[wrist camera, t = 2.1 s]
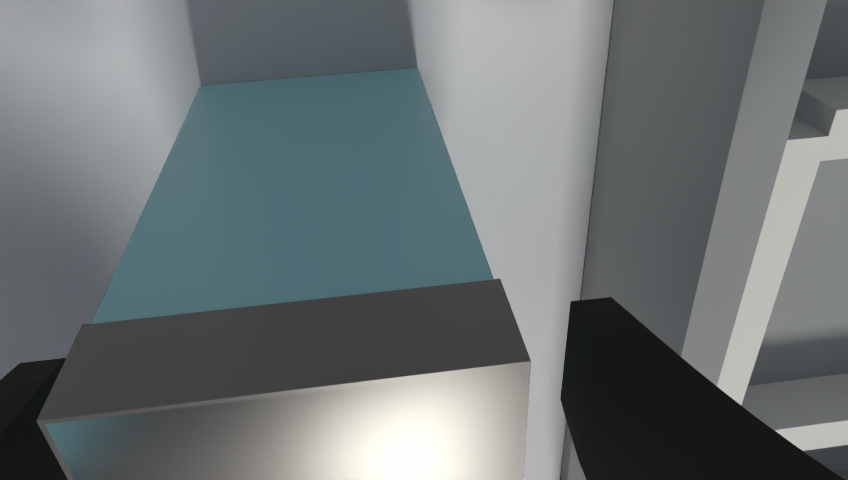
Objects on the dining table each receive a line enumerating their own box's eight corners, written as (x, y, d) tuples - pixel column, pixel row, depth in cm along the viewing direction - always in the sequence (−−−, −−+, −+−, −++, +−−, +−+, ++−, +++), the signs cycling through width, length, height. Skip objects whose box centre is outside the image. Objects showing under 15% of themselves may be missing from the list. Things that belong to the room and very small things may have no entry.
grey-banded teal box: (258, 334, 15) (206, 734, 9) (197, 82, 12) (35, 420, 5) (431, 314, 16) (509, 685, 9) (420, 64, 12) (530, 361, 6)
